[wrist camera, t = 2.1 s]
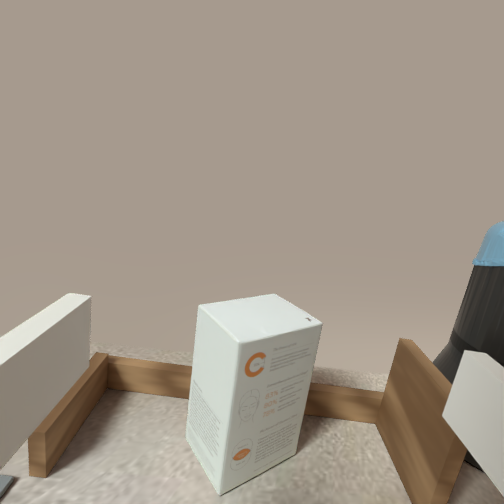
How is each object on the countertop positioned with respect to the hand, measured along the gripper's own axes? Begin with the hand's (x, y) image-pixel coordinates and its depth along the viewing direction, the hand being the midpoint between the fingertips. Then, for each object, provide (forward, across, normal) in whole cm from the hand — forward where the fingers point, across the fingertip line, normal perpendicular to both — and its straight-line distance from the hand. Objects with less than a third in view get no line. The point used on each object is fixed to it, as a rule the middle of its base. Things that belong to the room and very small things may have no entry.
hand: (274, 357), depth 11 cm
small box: (+14, +1, -18) cm, 22 cm away
